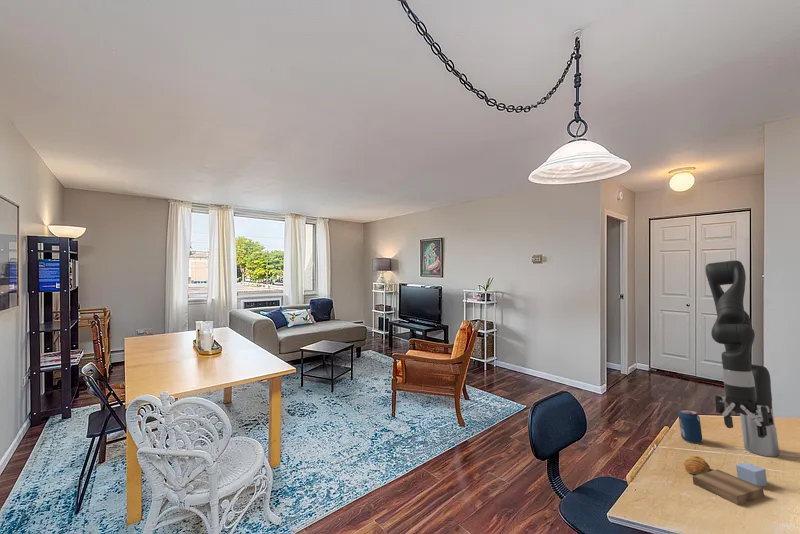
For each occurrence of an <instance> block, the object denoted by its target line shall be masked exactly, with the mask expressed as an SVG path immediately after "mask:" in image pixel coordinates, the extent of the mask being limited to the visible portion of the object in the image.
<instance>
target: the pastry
mask: <svg viewBox="0 0 800 534" xmlns="http://www.w3.org/2000/svg"><path fill="white" fill-rule="evenodd" d="M683 465H684V468H685V470H686V472H687V473H688V474H693V475H699V474H702V473H706V472H710V471H709V470H710V469H711V466H710V465H709V464H708V462H707V461H706V460H705V458H703V457H701V456H698V455H690V456H688V457H687V458H686V459H684V462H683Z"/></svg>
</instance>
